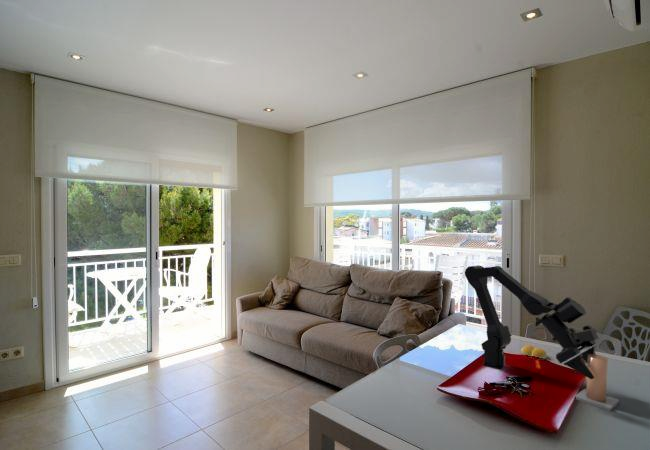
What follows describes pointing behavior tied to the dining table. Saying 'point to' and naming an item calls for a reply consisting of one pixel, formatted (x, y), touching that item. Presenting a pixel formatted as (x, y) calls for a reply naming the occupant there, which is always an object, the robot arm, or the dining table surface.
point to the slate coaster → (606, 405)
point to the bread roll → (533, 351)
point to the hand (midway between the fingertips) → (597, 374)
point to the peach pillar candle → (597, 377)
